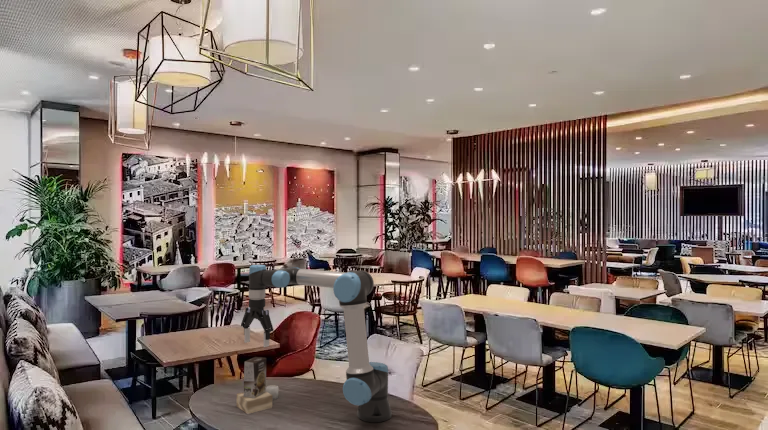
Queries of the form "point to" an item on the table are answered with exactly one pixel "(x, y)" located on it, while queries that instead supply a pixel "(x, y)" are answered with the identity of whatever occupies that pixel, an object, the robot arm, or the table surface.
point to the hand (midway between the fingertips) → (256, 344)
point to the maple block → (254, 402)
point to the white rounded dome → (272, 391)
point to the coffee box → (254, 377)
